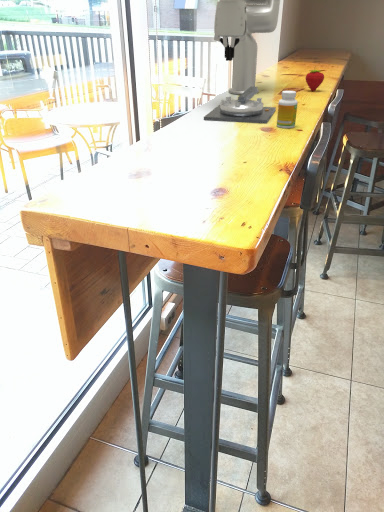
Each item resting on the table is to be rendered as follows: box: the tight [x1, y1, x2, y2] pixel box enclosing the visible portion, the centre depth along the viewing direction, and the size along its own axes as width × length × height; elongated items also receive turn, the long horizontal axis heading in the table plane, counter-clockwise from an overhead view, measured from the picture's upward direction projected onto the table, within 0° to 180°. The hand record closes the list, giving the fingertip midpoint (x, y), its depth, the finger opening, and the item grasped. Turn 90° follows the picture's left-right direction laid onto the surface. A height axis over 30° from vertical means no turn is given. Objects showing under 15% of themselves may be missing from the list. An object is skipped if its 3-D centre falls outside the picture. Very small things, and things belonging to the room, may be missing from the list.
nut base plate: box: [203, 104, 277, 124], centre depth 135 cm, size 20×20×1 cm
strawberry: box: [305, 67, 325, 92], centre depth 170 cm, size 6×8×10 cm
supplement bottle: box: [276, 90, 299, 129], centre depth 119 cm, size 5×5×10 cm
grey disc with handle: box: [219, 86, 264, 116], centre depth 140 cm, size 29×14×4 cm, turn 162°
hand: (229, 60), depth 138 cm, fingers closed
